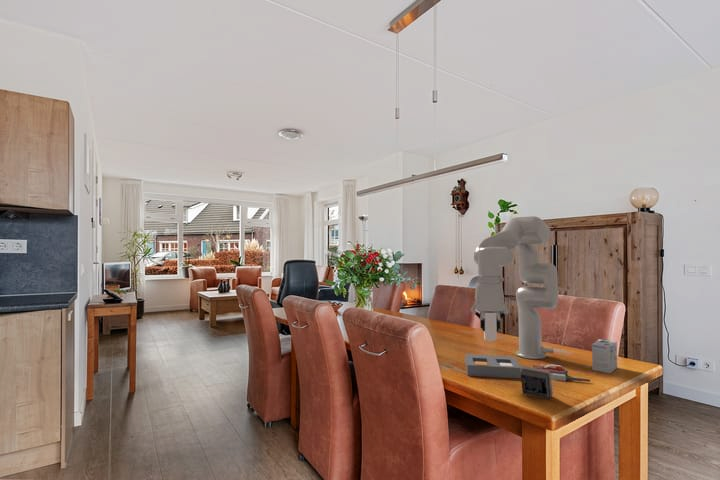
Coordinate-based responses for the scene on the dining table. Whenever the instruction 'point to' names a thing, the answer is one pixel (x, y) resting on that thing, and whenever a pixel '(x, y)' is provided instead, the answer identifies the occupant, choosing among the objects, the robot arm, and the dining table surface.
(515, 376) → the socket block
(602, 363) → the light bulb box
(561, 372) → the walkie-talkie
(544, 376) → the electrical switch
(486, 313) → the white bottle
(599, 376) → the dining table surface
